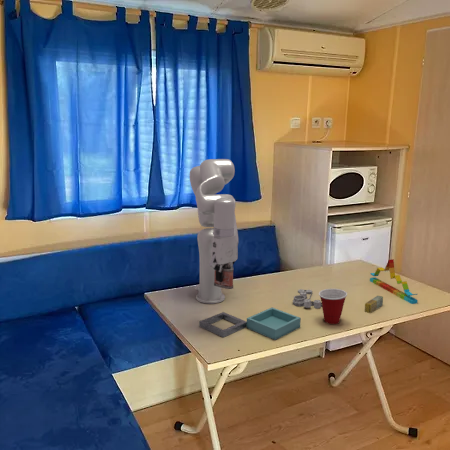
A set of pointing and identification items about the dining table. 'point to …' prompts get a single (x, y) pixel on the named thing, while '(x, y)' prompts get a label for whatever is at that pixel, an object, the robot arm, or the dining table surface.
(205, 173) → the robot arm
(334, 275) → the dining table surface
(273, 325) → the tray
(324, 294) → the plastic cup
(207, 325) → the gray square frame
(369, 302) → the medication box
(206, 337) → the dining table surface
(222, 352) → the dining table surface
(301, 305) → the pulley system
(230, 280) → the lighter
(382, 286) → the rainbow zigzag toy
